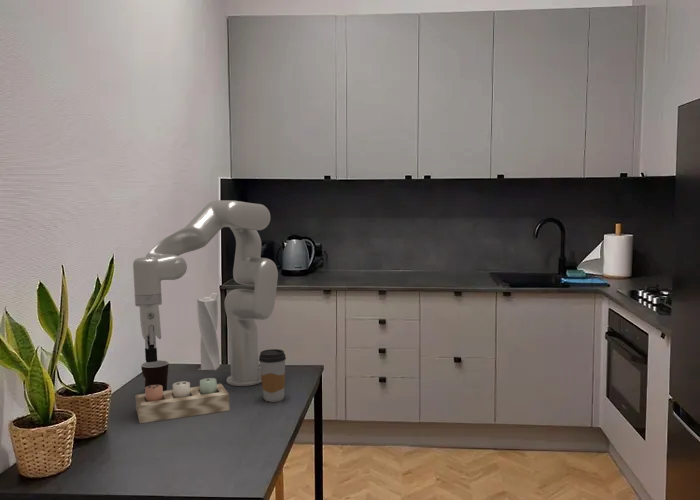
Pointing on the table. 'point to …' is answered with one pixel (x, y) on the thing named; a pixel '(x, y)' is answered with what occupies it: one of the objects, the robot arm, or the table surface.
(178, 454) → the table surface
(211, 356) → the skyscraper
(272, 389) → the coffee cup
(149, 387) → the pink rounded cylinder
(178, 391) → the button cream
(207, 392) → the button sage
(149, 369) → the coffee mug
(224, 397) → the beige long block
